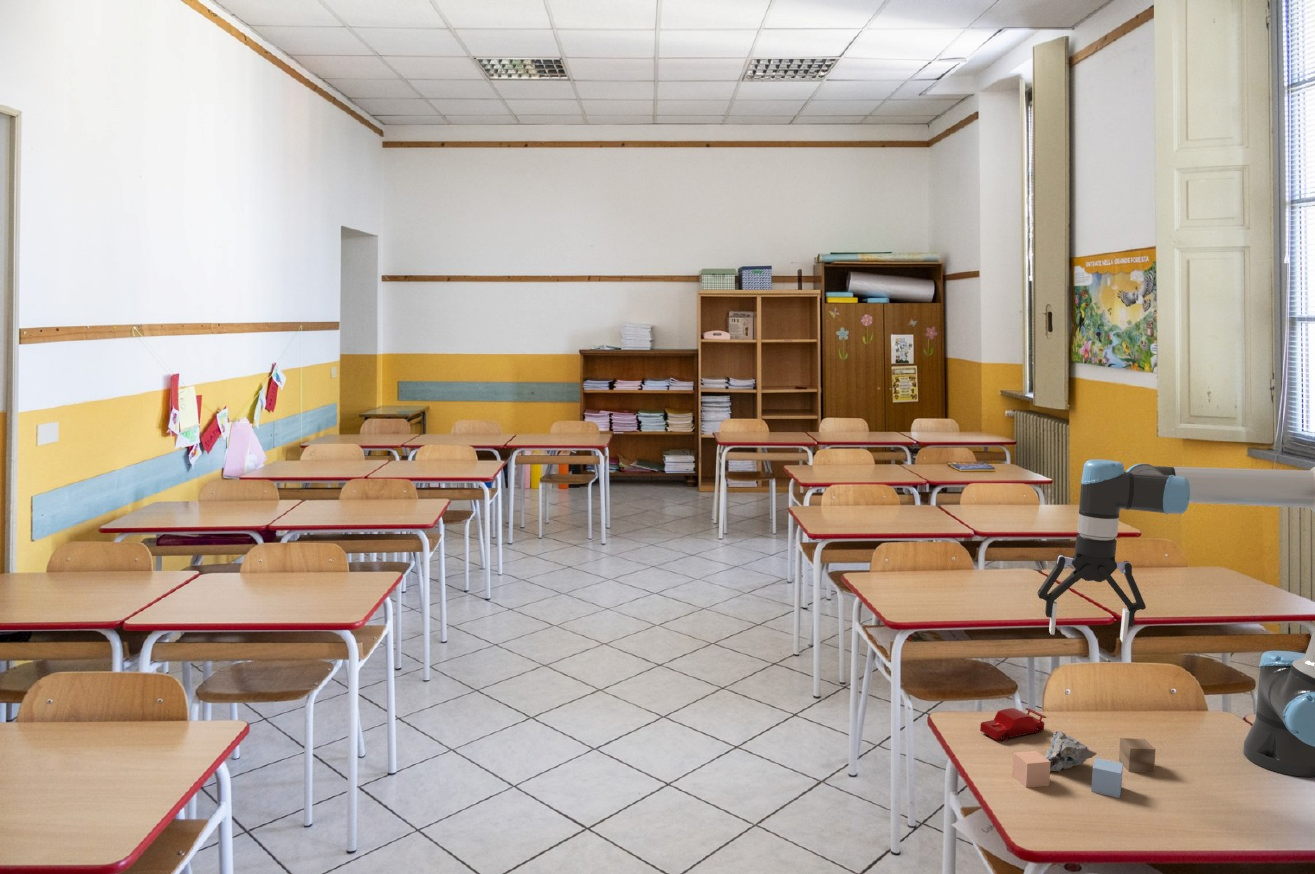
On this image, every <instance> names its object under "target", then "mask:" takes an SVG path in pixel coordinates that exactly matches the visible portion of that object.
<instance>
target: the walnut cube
mask: <svg viewBox="0 0 1315 874" xmlns="http://www.w3.org/2000/svg"><path fill="white" fill-rule="evenodd" d="M1118 753H1119V754H1118V762H1119V763H1123V768H1125V769H1126V770H1127V771H1128V773H1130V772H1131V773H1155V765H1156V764H1155V762H1156V761H1155V760H1156V748H1155V747H1154V746H1153V745H1152V744H1151V743H1150V742H1149V741H1148V740H1147V739H1146V738H1129V737H1128V738H1126V737H1120V739H1119V752H1118Z"/></svg>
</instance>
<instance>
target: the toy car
mask: <svg viewBox="0 0 1315 874" xmlns="http://www.w3.org/2000/svg"><path fill="white" fill-rule="evenodd" d="M1024 709H1025V710H1026V711H1027V713H1026V712H1023V711H1022V710H1020V709H1018V708H1015V707H1009V708H1005V709H1004V708H1003V709H1000V710H998V711H997V712H996V714H995V716H994V719H991V720H987V721H982V722H981V723H980V725H979V726H980V729H979V730H980V732H981V733H984V735H987V736H989V737H990V738H992V739H994V740H996V741H1000V742H1003V741H1007V740H1008V738H1014V737H1018V736H1022V735H1028V734H1034V735H1037V734H1041V733H1042V731H1045V721H1043V720H1042V719H1047V716H1045V715H1044V714H1041V713H1039V712H1038V711H1035V710H1033V709H1031V708H1029V707H1024ZM1030 713H1032V714H1034V715H1036V716H1038V717H1040V718H1036V717H1034V716H1033V715H1031V714H1030Z"/></svg>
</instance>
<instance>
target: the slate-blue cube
mask: <svg viewBox="0 0 1315 874" xmlns="http://www.w3.org/2000/svg"><path fill="white" fill-rule="evenodd" d="M1123 769H1124V766H1123V763H1121V762H1120V761H1118V762H1117V761H1113V760H1108V759H1103V758H1098V757H1094V761H1093V765H1092V773H1091V774H1092V775H1091V776H1092V777H1091V789H1090V791H1091V792H1092V793H1096V794H1101V795H1105V796H1109V797H1114V798H1118V799H1119V798H1121V791H1122V784H1123V783H1122V781H1123Z"/></svg>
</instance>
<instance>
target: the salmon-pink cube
mask: <svg viewBox="0 0 1315 874" xmlns="http://www.w3.org/2000/svg"><path fill="white" fill-rule="evenodd" d="M1012 755H1013V756H1012V773H1011V776H1012V777H1013V778H1014V779H1015V780H1017V781H1018V782H1019V783H1020V784H1021V785H1023V786H1024V787H1025V788H1035V787H1036V788H1037V787H1047V786H1050V780H1051V779H1050V778H1051V777H1050V775H1051V771H1050V763H1051V762H1050V761H1049V760H1048V759H1046V758H1045V757H1044V756H1045V755H1043V754H1041V753H1040V752H1039V751H1037V750H1030V751H1016V752H1013V754H1012Z"/></svg>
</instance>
